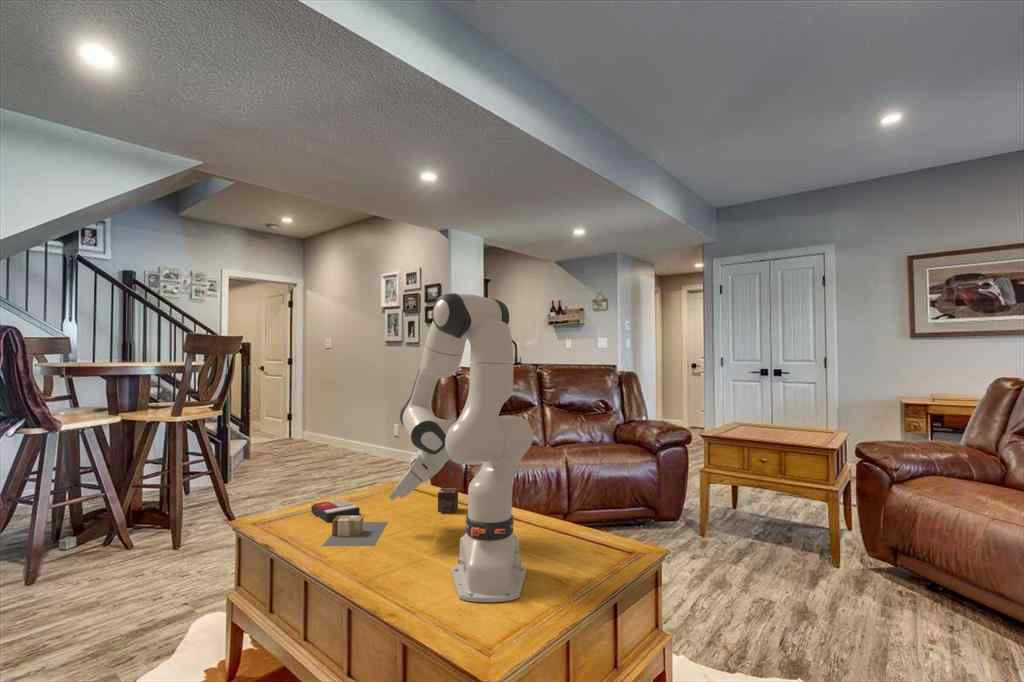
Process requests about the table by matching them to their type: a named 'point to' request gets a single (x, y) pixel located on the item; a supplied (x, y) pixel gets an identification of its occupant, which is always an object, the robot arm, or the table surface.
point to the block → (347, 526)
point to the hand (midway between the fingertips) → (391, 497)
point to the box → (448, 500)
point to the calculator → (334, 509)
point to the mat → (365, 539)
